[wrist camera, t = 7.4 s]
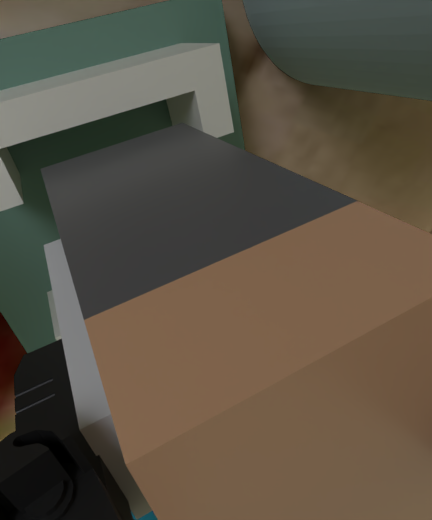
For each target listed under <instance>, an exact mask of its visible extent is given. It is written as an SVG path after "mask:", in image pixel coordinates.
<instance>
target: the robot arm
mask: <svg viewBox="0 0 432 520" xmlns="http://www.w3.org/2000/svg"><path fill="white" fill-rule="evenodd" d="M44 250H45V255H46V260H47V266H48V271H49V276H50V281H51V286H52V291H53V296H54V302H55V307H56V312H57V317H58V322H59V327H60V332H61V337H62V339H59V340H57V341H55V342H53V343H50V344H48V345H46V346H44V347H41V348H39V349H37V350H34V351H32V352H30V353H28V354H25V355H23V358H22V360H21V362H20V364H19V366H18V368H17V371H16V373H15V375H14V388H15V396H16V398H15V412H16V415H15V423H16V431H15V432H13V433H11V434H9V435H8V436H7V437H6V438H5V439H3V440H2V441H1V442H0V520H133V517H132V513H133V515H134V516H135V518H136V519H139V518H141V517H142V516H144V515H146V514H148V513H149V512H151V511H153V510H152V509H151V507H150V505H149V504H148V502H147V500H146V499H145V497H144V495H143V494H142V492H141V490H140V488H139V487H138V485H137V483H136V482H135V480H134V478H133V477H132V475H131V473H130V471H129V470H128V468H127V466H126V464H125V461H124V457H123V454H122V451H121V447H120V444H119V440H118V437H117V433H116V430H115V426H114V423H113V419H112V416H111V412H110V409H109V405H108V402H107V398H106V395H105V392H104V388H103V385H102V381H101V378H100V374H99V371H98V367H97V364H96V360H95V357H94V353H93V350H92V346H91V343H90V339H89V336H88V333H87V329H86V326H85V322H84V319H83V315H82V312H81V308H80V305H79V301H78V298H77V294H76V291H75V287H74V284H73V280H72V277H71V274H70V270H69V267H68V263H67V260H66V256H65V253H64V249H63V246H62V242H61V239H59V240H56V241H53V242H50V243H48V244H45V245H44ZM131 511H132V513H131Z"/></svg>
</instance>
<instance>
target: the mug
mask: <svg viewBox="0 0 432 520" xmlns="http://www.w3.org/2000/svg"><path fill="white" fill-rule="evenodd" d="M243 4H244V7H245V11H246V15H247V18H248V20H249V23H250V26H251V28H252V31H253V33H254V35H255V37H256V39H257V41H258V42H259V44H260V46H261V48H262V49H263V50H264V52H265V53H266V55H267V56H268V57H269V58H270V60H271V61H272V62H273V63H274V64H275V65H276V66H277V67H278V68H279V69H280V70H282V71H283V72H284V73H286V74H287V75H289V76H291V77H292V78H294V79H296V80H299V81H301V82H304V83H308V84H312V85H319V86H327V87H334V88H341V89H349V90H356V91H363V92H371V93H378V94H385V95H393V96H400V97H407V98H415V99H422V100H429V101H432V0H243Z"/></svg>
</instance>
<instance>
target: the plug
mask: <svg viewBox="0 0 432 520" xmlns="http://www.w3.org/2000/svg"><path fill="white" fill-rule="evenodd" d="M41 173H42V176H43V180H44V183H45V187H46V190H47V194H48V197H49V201H50V204H51V208H52V211H53V215H54V218H55V221H56V225H57V228H58V232H59V235H60V239H61V242H62V246H63V249H64V253H65V256H66V260H67V263H68V267H69V270H70V274H71V277H72V280H73V284H74V287H75V291H76V294H77V298H78V301H79V305H80V308H81V312H82V315H83V319H84V322H85V326H86V329H87V333H88V336H89V339H90V343H91V346H92V350H93V353H94V357H95V360H96V364H97V367H98V371H99V374H100V378H101V381H102V385H103V388H104V392H105V395H106V398H107V402H108V405H109V409H110V412H111V416H112V419H113V423H114V426H115V430H116V433H117V437H118V440H119V444H120V447H121V451H122V454H123V457H124V461H125V464H126V466H127V468H128V470H129V471H130V473H131V475H132V477H133V478H134V480H135V482H136V483H137V485H138V487H139V488H140V490H141V492H142V494H143V495H144V497H145V499H146V500H147V502H148V504H149V505H150V507H151V509H152V510H153V512H154V514H155V516H156V517H157V519H158V520H432V234H430V233H428V232H426V231H424V230H422V229H419V228H417V227H415V226H413V225H410V224H408V223H406V222H404V221H401V220H399V219H397V218H395V217H392V216H390V215H388V214H386V213H383V212H381V211H379V210H377V209H375V208H372V207H370V206H368V205H366V204H363V203H361V202H359V201H357V200H354V199H352V198H350V197H348V196H345V195H343V194H341V193H339V192H337V191H334V190H332V189H330V188H328V187H325V186H323V185H321V184H319V183H316V182H314V181H312V180H310V179H307V178H305V177H303V176H301V175H299V174H296V173H294V172H292V171H290V170H287V169H285V168H283V167H281V166H278V165H276V164H274V163H272V162H269V161H267V160H265V159H263V158H260V157H258V156H256V155H254V154H252V153H249V152H247V151H245V150H243V149H240V148H238V147H236V146H234V145H231V144H229V143H227V142H225V141H222V140H220V139H218V138H216V137H214V136H211V135H209V134H207V133H205V132H202V131H200V130H198V129H196V128H193V127H191V126H189V125H187V124H184V123H180V124H177V125H174V126H171V127H168V128H164V129H161V130H158V131H155V132H152V133H149V134H146V135H143V136H140V137H137V138H134V139H131V140H127V141H124V142H121V143H118V144H115V145H112V146H109V147H106V148H103V149H100V150H97V151H94V152H91V153H87V154H84V155H81V156H78V157H75V158H72V159H69V160H66V161H63V162H60V163H57V164H54V165H51V166H47V167H44V168H41Z"/></svg>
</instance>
